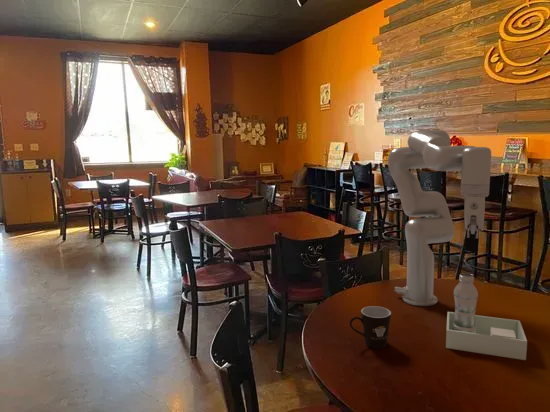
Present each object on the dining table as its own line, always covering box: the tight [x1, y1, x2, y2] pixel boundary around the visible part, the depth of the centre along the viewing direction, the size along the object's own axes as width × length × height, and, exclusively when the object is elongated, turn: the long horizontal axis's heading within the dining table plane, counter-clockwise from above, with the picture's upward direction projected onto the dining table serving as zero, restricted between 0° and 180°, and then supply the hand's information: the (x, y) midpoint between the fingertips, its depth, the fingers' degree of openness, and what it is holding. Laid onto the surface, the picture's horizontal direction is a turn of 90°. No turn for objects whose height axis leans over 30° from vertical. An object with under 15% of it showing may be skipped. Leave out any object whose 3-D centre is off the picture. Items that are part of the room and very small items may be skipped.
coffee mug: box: [349, 305, 392, 349], centre depth 125 cm, size 12×9×10 cm
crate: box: [445, 311, 528, 361], centre depth 122 cm, size 20×14×6 cm
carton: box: [490, 327, 516, 339], centre depth 120 cm, size 6×5×4 cm
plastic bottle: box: [452, 272, 479, 333], centre depth 123 cm, size 6×7×20 cm
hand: (471, 246), depth 124 cm, fingers open, 9 cm apart
